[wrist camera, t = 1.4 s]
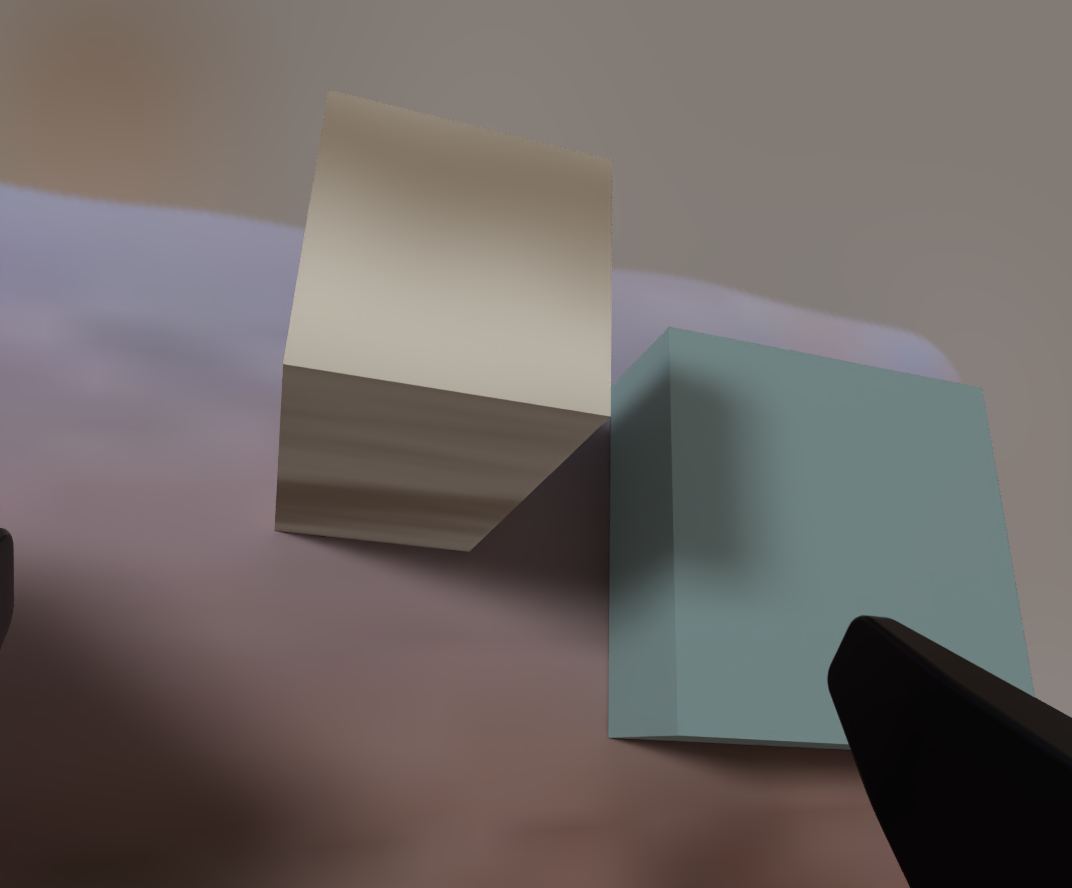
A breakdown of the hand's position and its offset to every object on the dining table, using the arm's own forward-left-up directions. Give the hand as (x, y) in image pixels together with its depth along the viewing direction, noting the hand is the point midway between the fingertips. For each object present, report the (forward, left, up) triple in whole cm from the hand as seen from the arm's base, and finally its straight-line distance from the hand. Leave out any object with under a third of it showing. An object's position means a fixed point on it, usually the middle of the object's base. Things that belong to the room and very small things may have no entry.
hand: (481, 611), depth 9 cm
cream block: (+6, 0, -13) cm, 14 cm away
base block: (+4, -12, -13) cm, 18 cm away
